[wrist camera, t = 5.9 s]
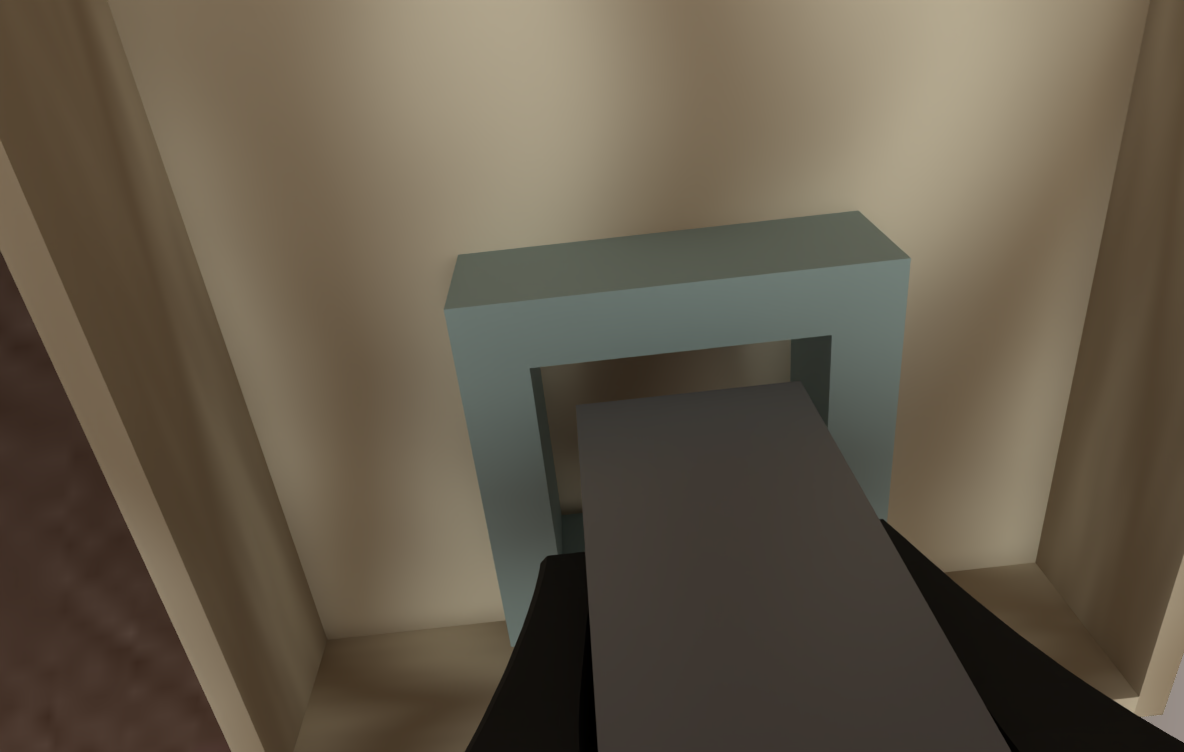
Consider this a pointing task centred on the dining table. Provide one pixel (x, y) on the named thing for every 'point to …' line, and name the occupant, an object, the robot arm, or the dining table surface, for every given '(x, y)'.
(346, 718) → the walled box
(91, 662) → the dining table surface
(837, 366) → the socket
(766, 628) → the plug
